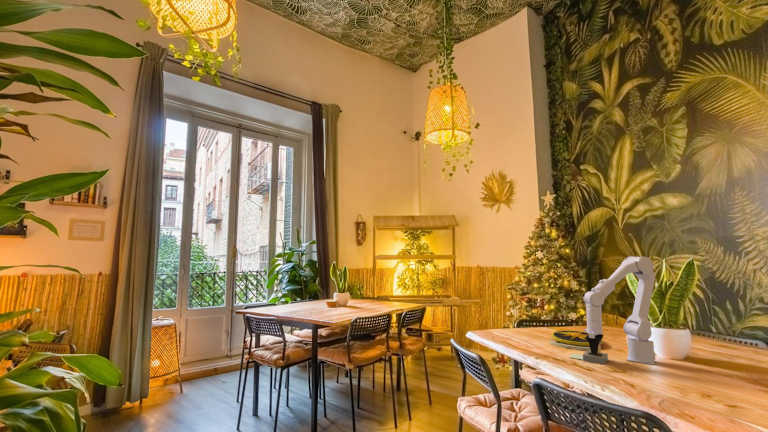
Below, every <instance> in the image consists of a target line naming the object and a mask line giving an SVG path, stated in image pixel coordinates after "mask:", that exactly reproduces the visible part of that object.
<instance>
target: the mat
mask: <svg viewBox="0 0 768 432" xmlns="http://www.w3.org/2000/svg"><path fill="white" fill-rule="evenodd" d="M568 358H569V359H572V358H575V359H574V360H578V359H581V360H580V361H583V354H577V353H572V354H571V355H570V356H569V357H568Z"/></svg>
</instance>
